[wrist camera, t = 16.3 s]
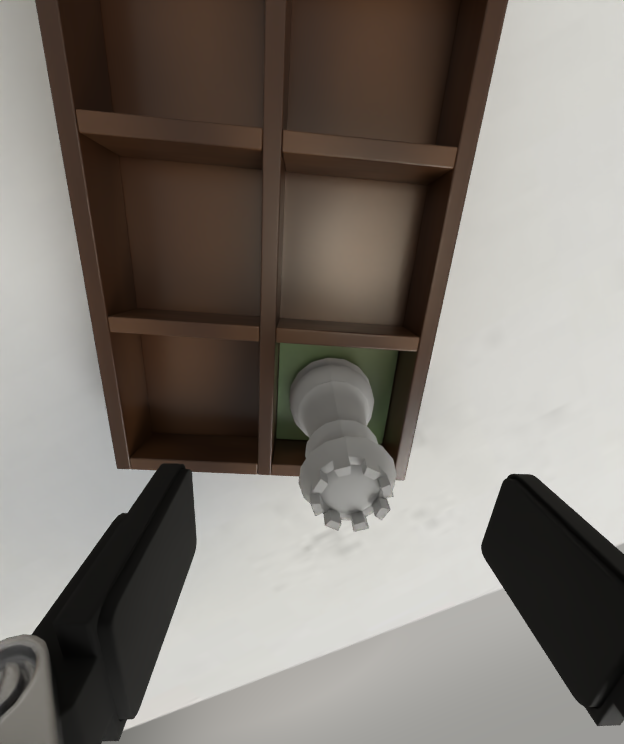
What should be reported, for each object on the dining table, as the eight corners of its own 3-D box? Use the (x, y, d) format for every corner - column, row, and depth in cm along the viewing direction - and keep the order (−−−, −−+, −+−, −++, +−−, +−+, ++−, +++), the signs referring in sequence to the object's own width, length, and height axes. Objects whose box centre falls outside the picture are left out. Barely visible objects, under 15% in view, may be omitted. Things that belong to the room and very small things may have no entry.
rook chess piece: (284, 358, 16) (269, 443, 8) (369, 351, 16) (429, 429, 8) (293, 432, 17) (287, 560, 10) (370, 425, 17) (422, 548, 10)
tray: (146, 436, 18) (116, 469, 15) (77, -97, 11) (-7, -232, 8) (389, 447, 19) (404, 481, 16) (480, -43, 12) (541, -147, 9)
